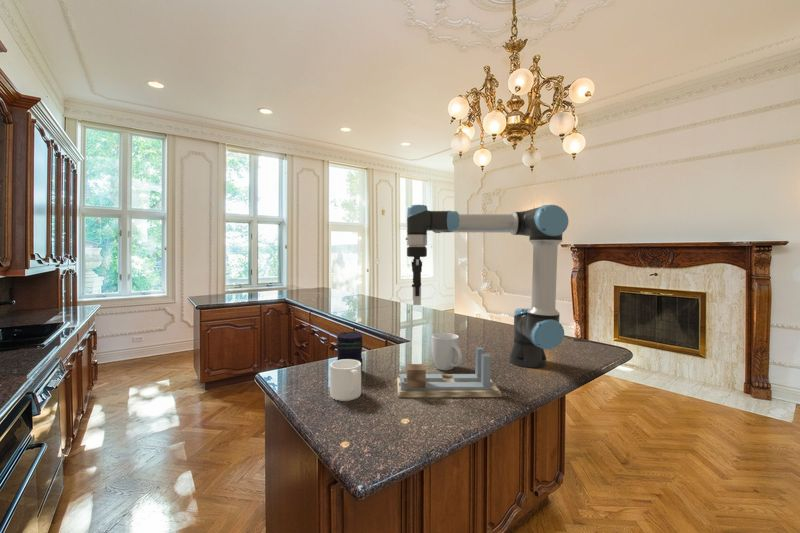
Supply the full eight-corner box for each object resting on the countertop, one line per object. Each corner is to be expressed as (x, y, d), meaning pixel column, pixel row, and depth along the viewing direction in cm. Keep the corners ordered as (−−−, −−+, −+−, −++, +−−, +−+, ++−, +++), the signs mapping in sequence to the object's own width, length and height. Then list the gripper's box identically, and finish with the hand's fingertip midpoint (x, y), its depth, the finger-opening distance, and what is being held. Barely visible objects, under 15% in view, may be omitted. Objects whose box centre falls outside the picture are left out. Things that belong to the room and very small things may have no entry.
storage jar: (367, 373, 136) (367, 334, 136) (347, 379, 129) (347, 339, 128) (351, 367, 143) (351, 330, 142) (331, 373, 136) (331, 334, 135)
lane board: (488, 378, 131) (488, 374, 131) (502, 396, 115) (502, 391, 115) (397, 379, 130) (397, 374, 130) (397, 397, 114) (397, 391, 114)
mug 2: (471, 372, 138) (471, 339, 137) (449, 377, 132) (450, 343, 131) (446, 361, 150) (446, 331, 150) (425, 366, 144) (425, 334, 144)
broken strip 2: (482, 377, 129) (482, 346, 128) (485, 381, 125) (485, 350, 124) (452, 377, 128) (452, 346, 128) (454, 381, 124) (454, 350, 124)
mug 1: (325, 393, 117) (325, 362, 117) (352, 386, 123) (351, 357, 122) (342, 407, 107) (342, 373, 106) (370, 398, 113) (370, 367, 112)
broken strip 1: (441, 377, 128) (441, 374, 128) (442, 381, 124) (442, 378, 124) (400, 377, 128) (400, 374, 128) (400, 382, 124) (400, 378, 124)
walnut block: (423, 381, 121) (424, 364, 121) (425, 388, 115) (425, 370, 115) (406, 381, 121) (406, 364, 121) (407, 388, 115) (407, 370, 115)
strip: (488, 386, 121) (488, 353, 120) (491, 390, 117) (492, 356, 116) (400, 386, 120) (400, 353, 119) (400, 391, 116) (401, 357, 115)
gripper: (406, 246, 146) (406, 297, 147) (407, 246, 121) (406, 307, 122) (425, 246, 146) (424, 297, 147) (428, 246, 121) (428, 307, 122)
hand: (416, 302), depth 135 cm, fingers open, 13 cm apart
